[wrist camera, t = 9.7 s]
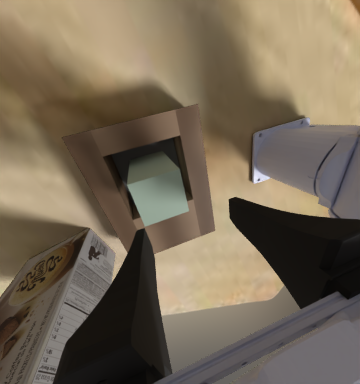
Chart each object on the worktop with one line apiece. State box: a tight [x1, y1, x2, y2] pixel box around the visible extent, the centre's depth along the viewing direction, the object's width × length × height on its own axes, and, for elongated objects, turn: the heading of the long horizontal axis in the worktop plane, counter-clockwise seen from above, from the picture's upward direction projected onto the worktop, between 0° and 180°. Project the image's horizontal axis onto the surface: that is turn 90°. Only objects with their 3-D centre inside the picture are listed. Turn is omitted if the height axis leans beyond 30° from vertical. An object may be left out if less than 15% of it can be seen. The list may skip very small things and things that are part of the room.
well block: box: [62, 104, 215, 254], centre depth 18 cm, size 12×16×4 cm
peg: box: [127, 151, 189, 226], centre depth 15 cm, size 4×4×8 cm
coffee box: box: [0, 228, 115, 384], centre depth 14 cm, size 9×6×16 cm
